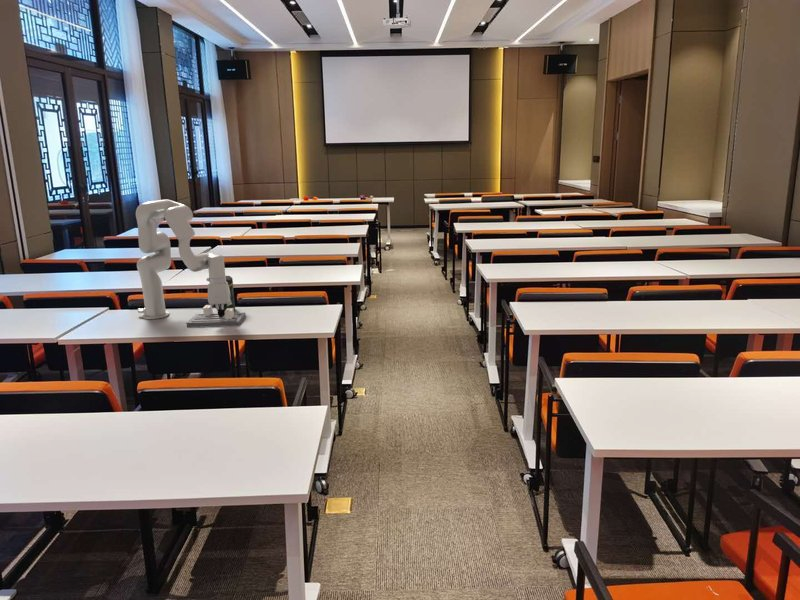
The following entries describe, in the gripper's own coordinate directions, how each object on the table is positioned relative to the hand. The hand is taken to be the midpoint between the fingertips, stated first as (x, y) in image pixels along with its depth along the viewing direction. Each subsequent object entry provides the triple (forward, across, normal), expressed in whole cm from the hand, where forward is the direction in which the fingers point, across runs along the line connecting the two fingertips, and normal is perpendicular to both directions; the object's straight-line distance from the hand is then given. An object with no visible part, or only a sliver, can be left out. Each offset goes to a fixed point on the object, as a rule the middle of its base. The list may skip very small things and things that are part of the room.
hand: (221, 316), depth 287 cm
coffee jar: (+4, -3, +22) cm, 23 cm away
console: (+4, -4, +4) cm, 6 cm away
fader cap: (+1, +4, 0) cm, 4 cm away
